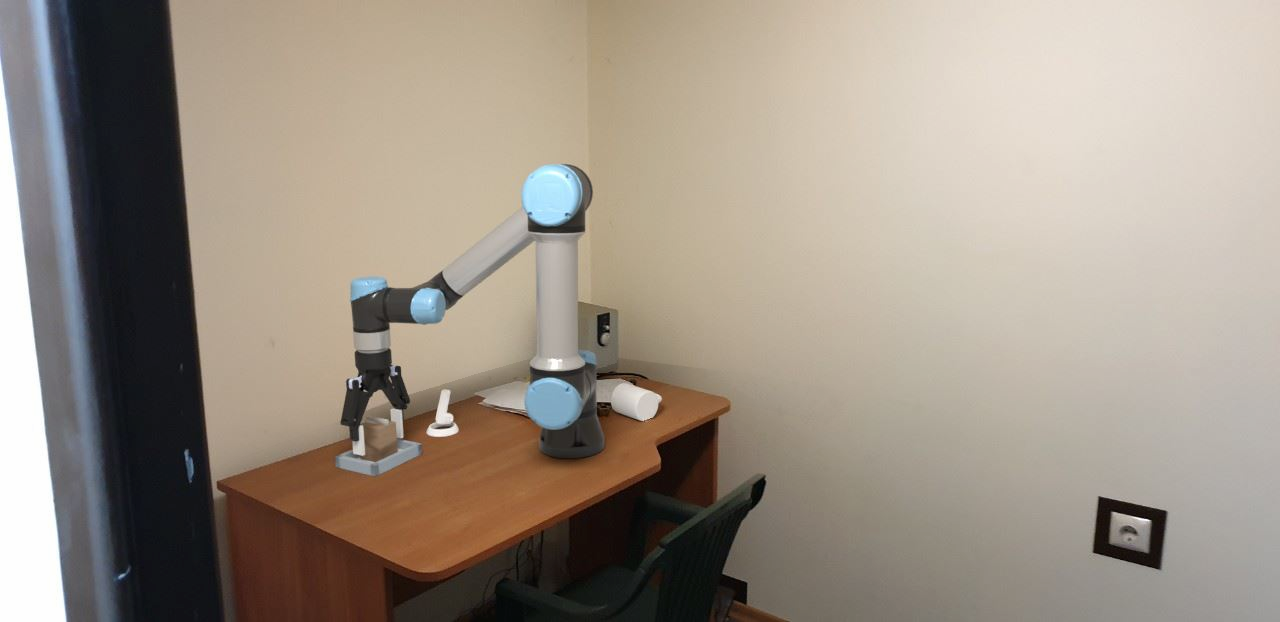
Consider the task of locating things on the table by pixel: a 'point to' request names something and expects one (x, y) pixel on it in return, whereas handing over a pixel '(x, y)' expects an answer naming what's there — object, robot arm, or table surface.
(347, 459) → the tray
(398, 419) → the robot arm
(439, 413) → the hook
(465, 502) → the table surface
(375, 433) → the brown cardboard carton
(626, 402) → the mug
